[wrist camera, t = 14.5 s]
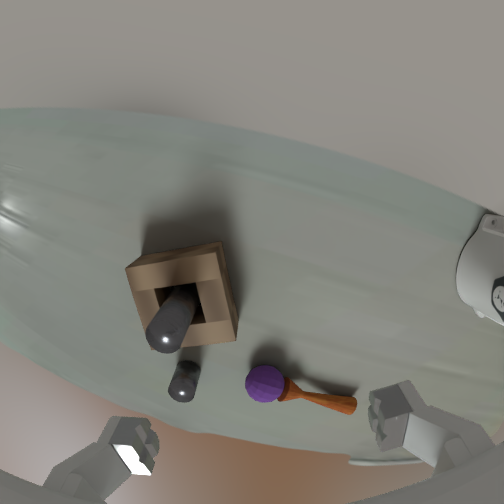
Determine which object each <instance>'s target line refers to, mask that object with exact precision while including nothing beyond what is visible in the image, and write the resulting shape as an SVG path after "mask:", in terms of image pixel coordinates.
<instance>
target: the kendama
mask: <svg viewBox="0 0 504 504" xmlns="http://www.w3.org/2000/svg"><path fill="white" fill-rule="evenodd" d="M245 388H246V390H247V392H248V394H249V396H250V397H252V398H253V399H254V400H255V401H259V402H272V401H273V400H275V399H277V400H278V401H286V400H292V399H296V398H304V399H306V400H309V401H312V402H314V403H317V404H320V405H322V406H325V407H328V408H331V409H333V410H336V411H339V412H342V413H345V414H348V415H351V414H352V413H353V412H354V411H355V409H356V407H357V400H356V398H355V397H347V396H337V395H328V394H320V393H312V392H305V391H302V390H301V389H300V388H299V387H298V386H297V385H296V384H295V383H294V382H293V381H292V380H291V379H289V378H288V377H285V378H283V376H282V373H280V372H279V371H278V370H277V369H276V368H275V367H272V366H269V365H262V366H257V367H256V368H254V369H252V370H251V371H250V372H249V374H248V375H247V377H246V381H245Z"/></svg>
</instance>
